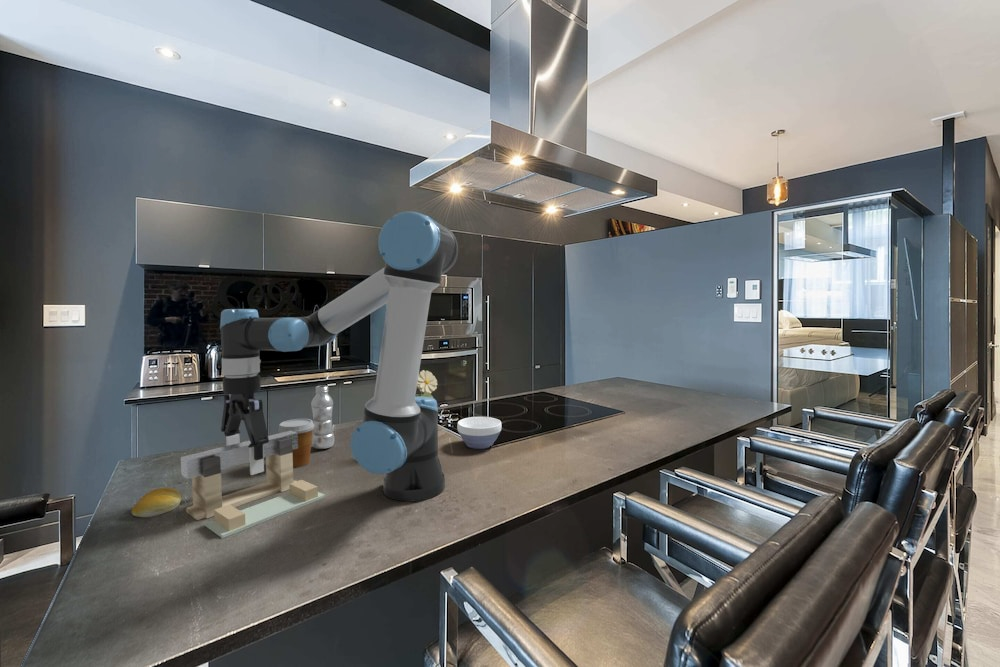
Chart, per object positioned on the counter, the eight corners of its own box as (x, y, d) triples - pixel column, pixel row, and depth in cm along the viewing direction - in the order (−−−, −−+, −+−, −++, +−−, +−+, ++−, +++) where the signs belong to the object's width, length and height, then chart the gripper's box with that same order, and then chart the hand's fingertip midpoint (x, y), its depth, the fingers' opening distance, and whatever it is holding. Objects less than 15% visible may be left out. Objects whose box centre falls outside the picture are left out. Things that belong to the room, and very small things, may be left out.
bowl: (476, 435, 150) (476, 414, 149) (510, 443, 141) (510, 420, 141) (448, 446, 138) (447, 423, 137) (483, 455, 129) (483, 431, 129)
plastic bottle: (339, 447, 137) (337, 385, 136) (320, 453, 131) (318, 389, 130) (326, 443, 141) (325, 383, 139) (307, 449, 135) (306, 387, 134)
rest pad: (325, 497, 101) (324, 485, 101) (222, 538, 83) (221, 523, 83) (306, 488, 106) (306, 477, 105) (205, 526, 88) (204, 511, 87)
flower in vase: (400, 456, 129) (399, 374, 127) (394, 444, 139) (392, 369, 138) (442, 450, 134) (441, 371, 133) (432, 439, 145) (432, 367, 143)
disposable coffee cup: (301, 470, 117) (300, 428, 116) (271, 468, 119) (269, 426, 118) (322, 458, 126) (321, 419, 126) (294, 456, 128) (292, 417, 128)
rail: (297, 448, 109) (297, 432, 109) (187, 479, 89) (186, 460, 89) (290, 445, 111) (290, 430, 111) (181, 475, 91) (180, 457, 91)
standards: (299, 485, 107) (297, 437, 107) (198, 521, 90) (196, 463, 89) (284, 478, 112) (282, 432, 111) (185, 511, 94) (182, 456, 93)
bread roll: (126, 522, 90) (124, 503, 89) (144, 503, 98) (143, 486, 98) (173, 515, 93) (172, 497, 92) (187, 498, 101) (186, 481, 101)
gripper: (284, 378, 95) (286, 473, 96) (236, 368, 109) (239, 452, 110) (248, 382, 89) (252, 484, 90) (202, 372, 103) (206, 461, 104)
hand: (245, 467), depth 100 cm, fingers open, 11 cm apart
